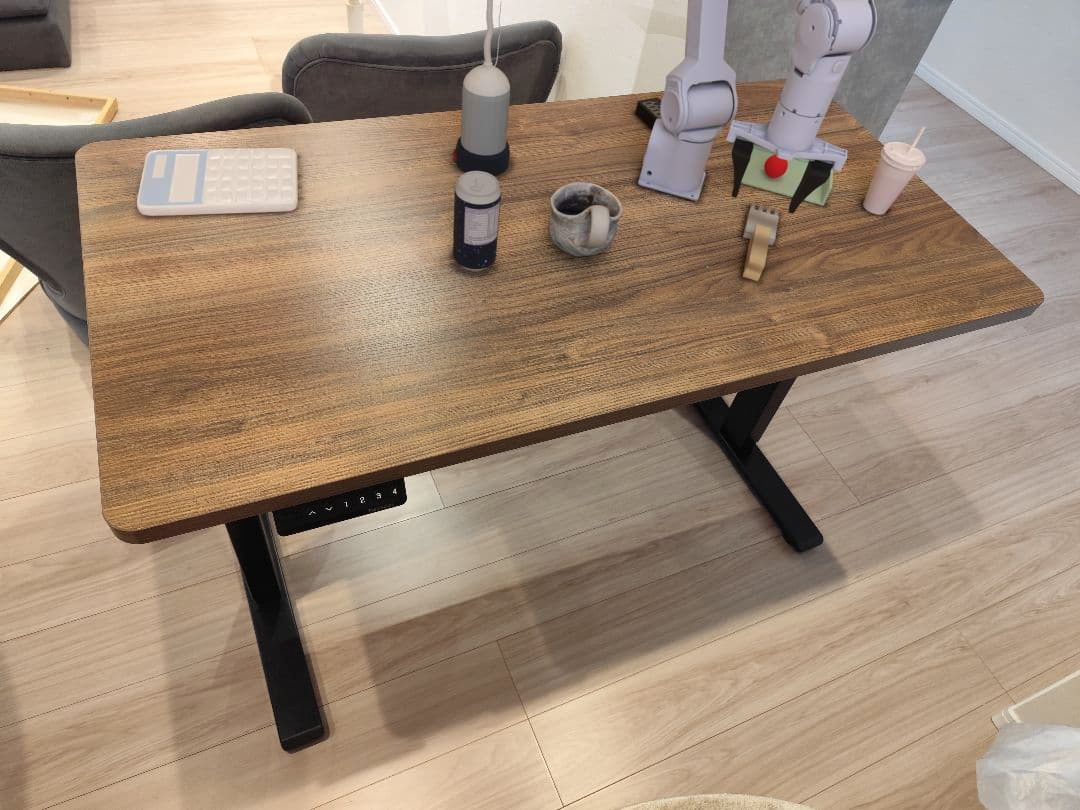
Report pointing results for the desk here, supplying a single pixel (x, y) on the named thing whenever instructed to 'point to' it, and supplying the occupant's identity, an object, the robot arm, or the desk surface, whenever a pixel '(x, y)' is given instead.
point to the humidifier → (484, 114)
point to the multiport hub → (649, 111)
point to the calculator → (218, 181)
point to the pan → (783, 177)
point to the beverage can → (476, 220)
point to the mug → (583, 218)
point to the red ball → (775, 166)
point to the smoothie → (893, 174)
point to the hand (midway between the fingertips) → (762, 201)
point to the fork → (759, 239)
